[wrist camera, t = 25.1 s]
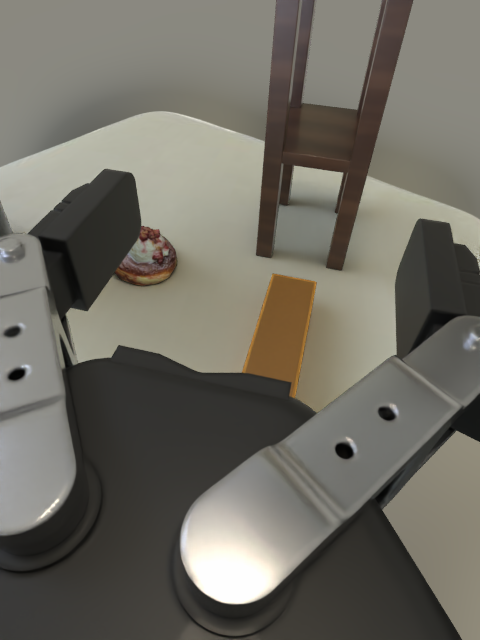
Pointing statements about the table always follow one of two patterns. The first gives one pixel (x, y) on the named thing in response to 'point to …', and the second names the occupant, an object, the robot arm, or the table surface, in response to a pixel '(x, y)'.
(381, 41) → the stand
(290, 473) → the robot arm
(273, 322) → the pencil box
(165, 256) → the pastry
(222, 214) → the table surface
